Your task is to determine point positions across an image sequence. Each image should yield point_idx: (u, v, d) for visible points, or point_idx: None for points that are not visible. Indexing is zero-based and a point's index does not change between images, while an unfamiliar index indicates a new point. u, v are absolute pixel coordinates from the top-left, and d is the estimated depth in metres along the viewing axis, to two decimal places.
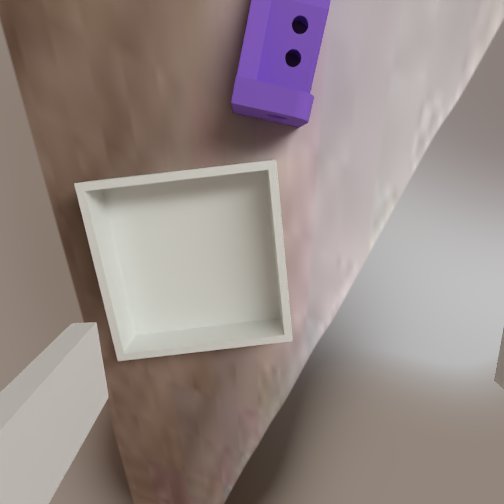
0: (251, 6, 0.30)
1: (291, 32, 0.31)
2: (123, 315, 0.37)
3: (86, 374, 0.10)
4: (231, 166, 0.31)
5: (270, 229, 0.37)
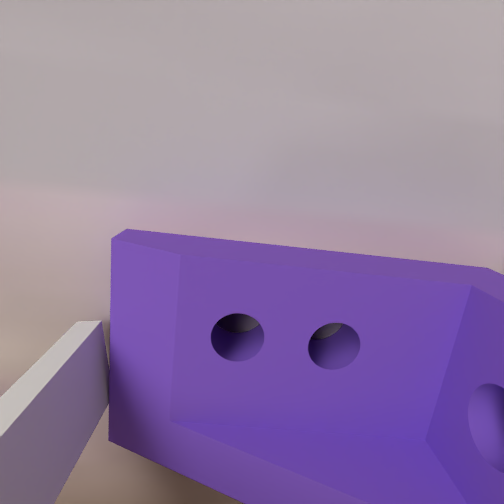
0: (211, 484, 0.10)
1: (260, 357, 0.10)
2: None
3: (92, 372, 0.10)
4: None
5: None
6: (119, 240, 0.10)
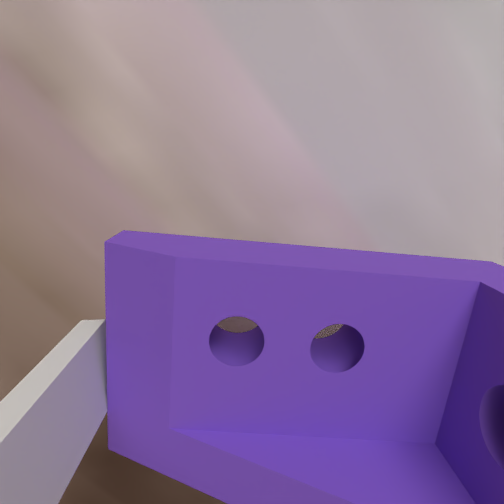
0: (213, 493, 0.10)
1: (261, 361, 0.10)
2: None
3: (96, 370, 0.10)
4: None
5: None
6: (112, 243, 0.09)
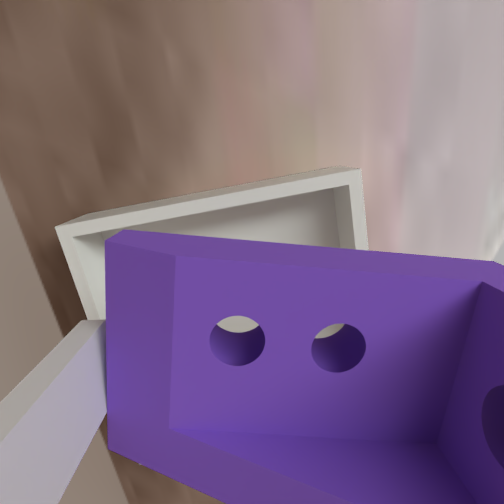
0: (213, 494, 0.10)
1: (261, 361, 0.09)
2: None
3: (96, 370, 0.10)
4: (292, 183, 0.20)
5: None
6: (112, 242, 0.09)
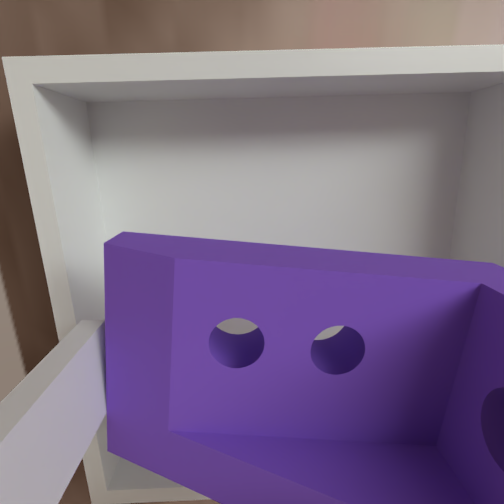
0: (213, 496, 0.10)
1: (261, 363, 0.09)
2: None
3: (96, 370, 0.10)
4: (451, 50, 0.11)
5: (450, 233, 0.17)
6: (111, 245, 0.09)
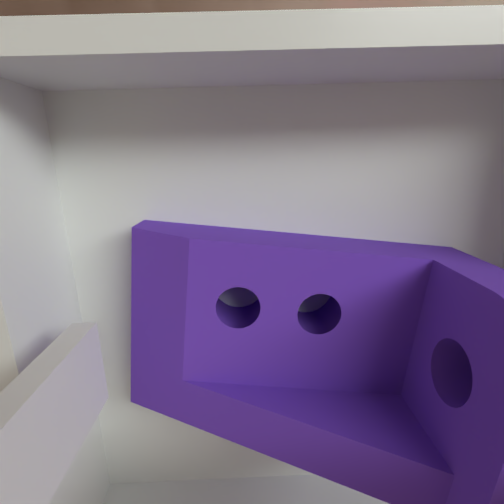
0: (218, 433, 0.12)
1: (257, 325, 0.12)
2: (80, 460, 0.13)
3: (86, 374, 0.10)
4: None
5: (500, 255, 0.14)
6: (138, 229, 0.11)
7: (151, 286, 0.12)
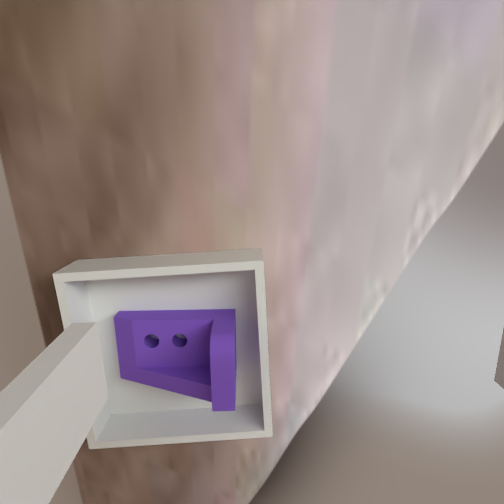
0: (150, 385, 0.34)
1: (159, 346, 0.34)
2: None
3: (86, 374, 0.10)
4: (216, 264, 0.30)
5: (255, 317, 0.36)
6: (115, 317, 0.34)
7: (122, 336, 0.34)
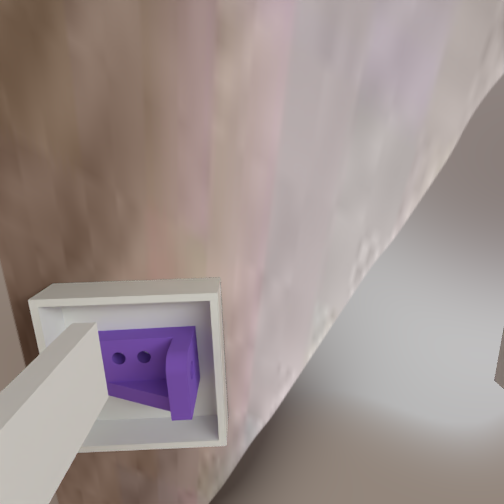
0: (120, 397, 0.38)
1: (126, 362, 0.38)
2: None
3: (86, 374, 0.10)
4: (175, 295, 0.34)
5: None
6: None
7: None
